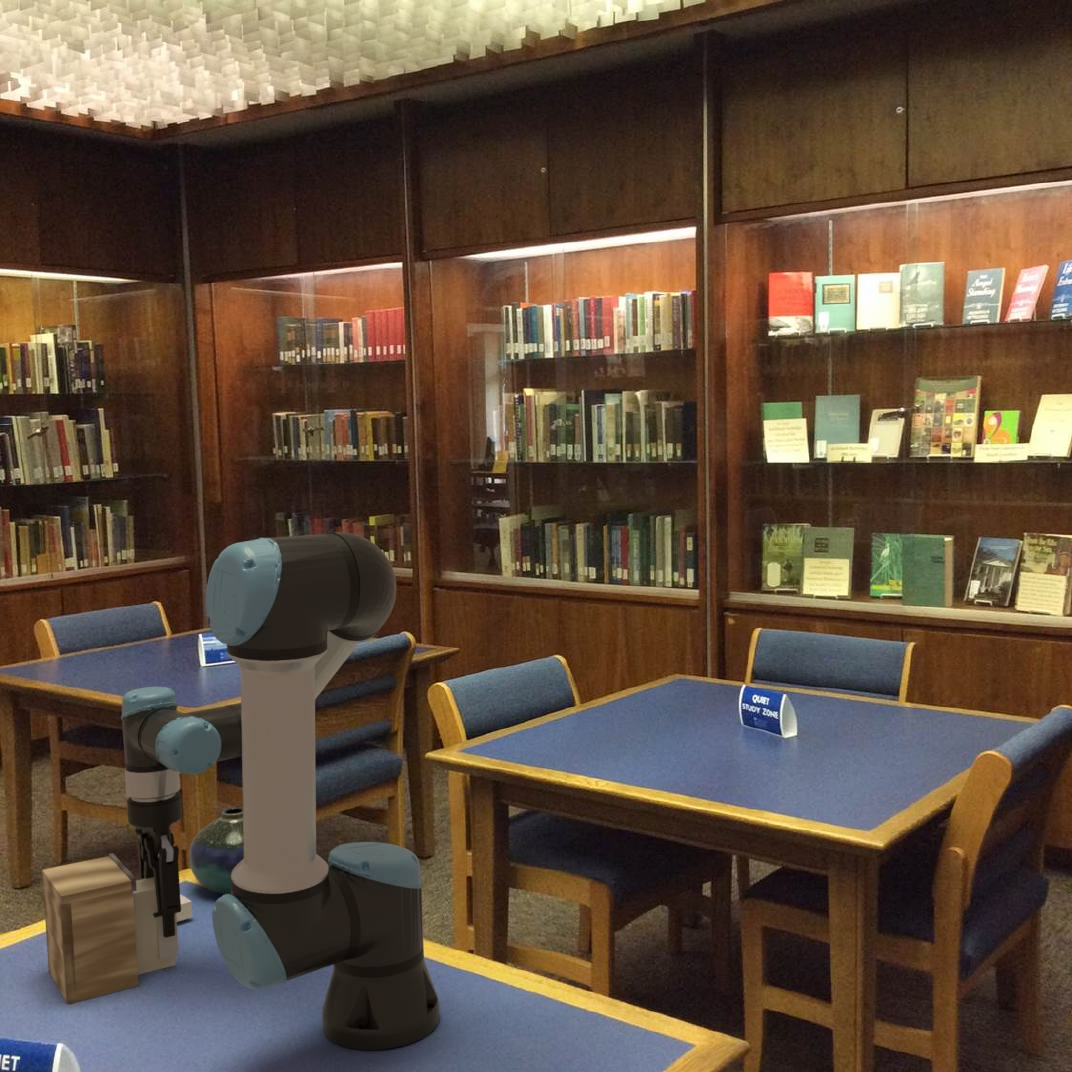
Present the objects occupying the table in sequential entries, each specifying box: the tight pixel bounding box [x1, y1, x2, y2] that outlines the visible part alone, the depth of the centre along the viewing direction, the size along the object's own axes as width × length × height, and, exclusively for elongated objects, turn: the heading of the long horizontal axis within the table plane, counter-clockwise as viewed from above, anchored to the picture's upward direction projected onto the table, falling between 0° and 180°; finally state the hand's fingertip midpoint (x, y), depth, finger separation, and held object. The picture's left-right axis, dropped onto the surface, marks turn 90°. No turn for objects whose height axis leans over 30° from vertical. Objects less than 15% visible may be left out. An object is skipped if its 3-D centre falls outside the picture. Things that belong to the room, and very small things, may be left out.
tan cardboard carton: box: [133, 877, 176, 976], centre depth 179 cm, size 5×10×12 cm, turn 123°
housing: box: [41, 852, 139, 1005], centre depth 175 cm, size 13×10×16 cm
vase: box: [188, 806, 244, 895], centre depth 209 cm, size 15×15×13 cm
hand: (162, 948), depth 181 cm, fingers closed on tan cardboard carton, 5 cm apart
